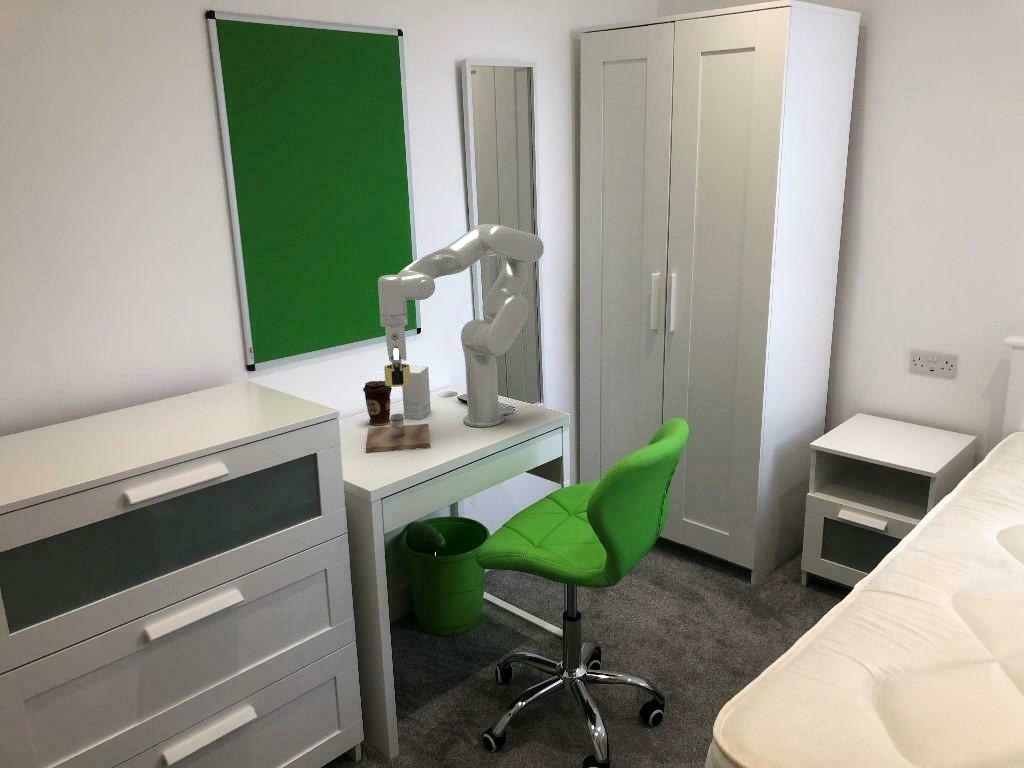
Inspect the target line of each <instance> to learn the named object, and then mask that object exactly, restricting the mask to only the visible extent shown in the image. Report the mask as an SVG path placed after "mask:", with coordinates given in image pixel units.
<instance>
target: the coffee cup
mask: <svg viewBox="0 0 1024 768" xmlns="http://www.w3.org/2000/svg"><path fill="white" fill-rule="evenodd" d="M392 390H393V387H390V386H385V380H371V381H367V382H365V385H364V387H363V388H362V392H364V398H365V405H366V408H367V410H366V411H367V414H368V416H369V424H370V425H373V426H386V425H389V424H391V420H390V418H391V393H392Z"/></svg>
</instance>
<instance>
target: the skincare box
mask: <svg viewBox="0 0 1024 768" xmlns="http://www.w3.org/2000/svg"><path fill="white" fill-rule="evenodd" d="M409 367H410V383H411V384H409V385H406V386H401V388H402V389H401V390H402V403H403V417H404V419H405V418H410V419H409V420H423V419H424V418H426V417H427V415H429V414H430V413H431V412H432V411H431V410H432V409H431V397H430V396H431V394H430V392H431V391H430V377H429V376H430V375H429V365H413V364H412V365H410V364H409Z"/></svg>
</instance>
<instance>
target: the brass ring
mask: <svg viewBox="0 0 1024 768" xmlns="http://www.w3.org/2000/svg"><path fill="white" fill-rule="evenodd" d="M409 366H410V364H407V363H402V370H403V380H404V384H403V385H392V374H391V371H392V363H391V364H387V365H384V366H383V367H384V369H383V370H384V381H385V386H390V387H391V388H397V387H398V388H399V387H400V388H402V386H406V385H409V384H411V383H410V367H409Z"/></svg>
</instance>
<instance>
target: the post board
mask: <svg viewBox="0 0 1024 768" xmlns="http://www.w3.org/2000/svg"><path fill="white" fill-rule="evenodd" d="M389 419H390V426H379V427H378V426H377V427H368V429H367V437H366V443H365V453H366V454H368V453H381V452H382V453H383V452H394V451H395V450H397V451H405V450H404V449H410V450H417V449H416V448H423V449H429V448H428V447H431V437H430V425H429V423H420V424H417V423H416V424H406V425H405V423H404V419H405V418H404V413H403V414H402V413H394V414H393V413H392V414H390V417H389Z"/></svg>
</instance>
